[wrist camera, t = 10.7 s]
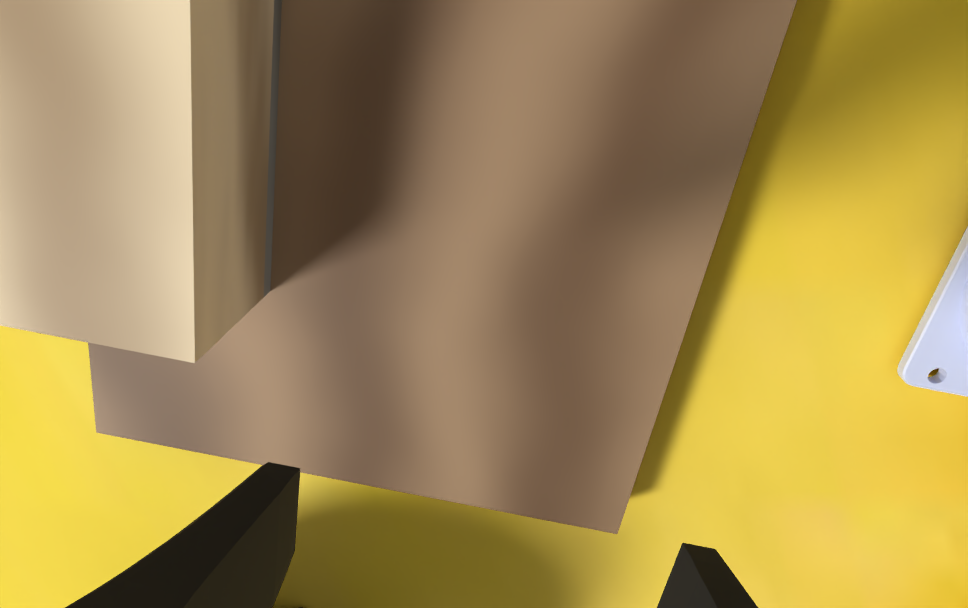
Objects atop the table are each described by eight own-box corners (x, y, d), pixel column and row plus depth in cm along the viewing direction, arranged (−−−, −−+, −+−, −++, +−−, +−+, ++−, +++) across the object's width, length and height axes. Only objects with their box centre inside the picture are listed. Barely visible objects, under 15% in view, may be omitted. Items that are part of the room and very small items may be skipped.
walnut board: (863, -269, 14) (898, -302, 13) (612, 504, 23) (617, 533, 21) (66, -416, 14) (14, -465, 13) (123, 408, 23) (96, 432, 22)
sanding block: (283, -48, 15) (188, -77, 11) (270, 291, 19) (195, 363, 15) (56, -91, 15) (-121, -136, 11) (87, 255, 19) (-40, 317, 15)
